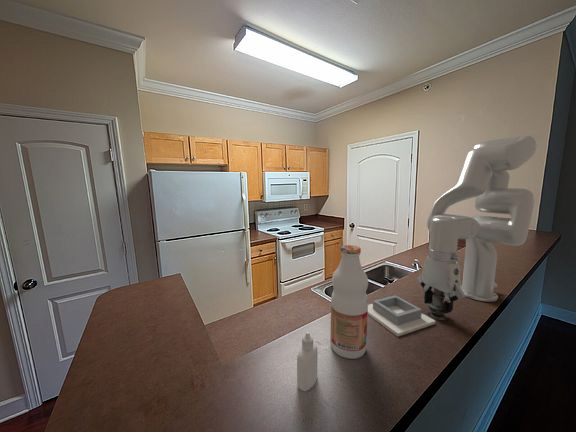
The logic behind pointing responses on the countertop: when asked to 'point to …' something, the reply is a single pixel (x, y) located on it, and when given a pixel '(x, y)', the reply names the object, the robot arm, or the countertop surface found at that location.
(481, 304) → the countertop surface
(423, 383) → the countertop surface
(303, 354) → the eye dropper bottle
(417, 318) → the socket
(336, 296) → the fruit juice
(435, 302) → the stone chess piece
